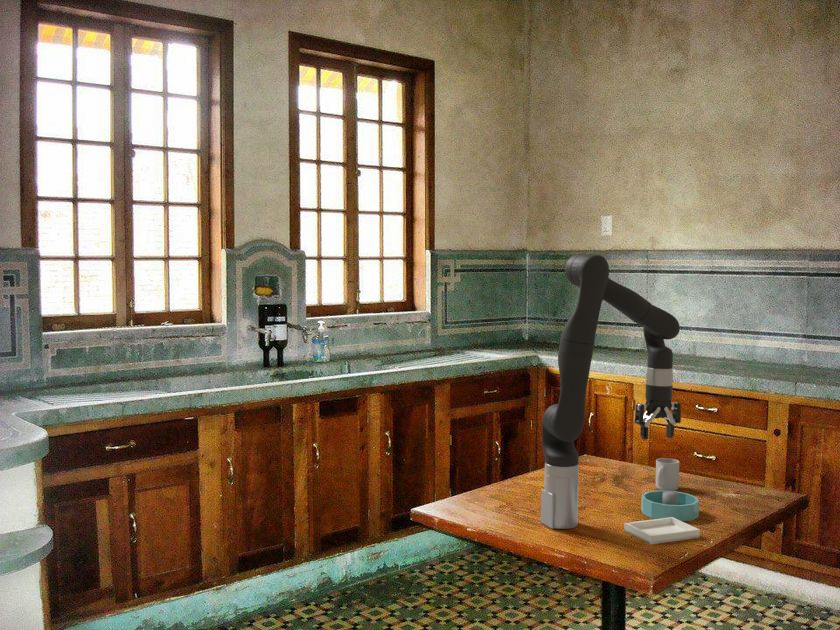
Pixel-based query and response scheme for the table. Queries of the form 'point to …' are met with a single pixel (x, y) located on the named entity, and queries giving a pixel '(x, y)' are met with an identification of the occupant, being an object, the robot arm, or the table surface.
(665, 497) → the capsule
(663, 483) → the cup
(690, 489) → the table surface
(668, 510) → the bowl
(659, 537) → the tray
